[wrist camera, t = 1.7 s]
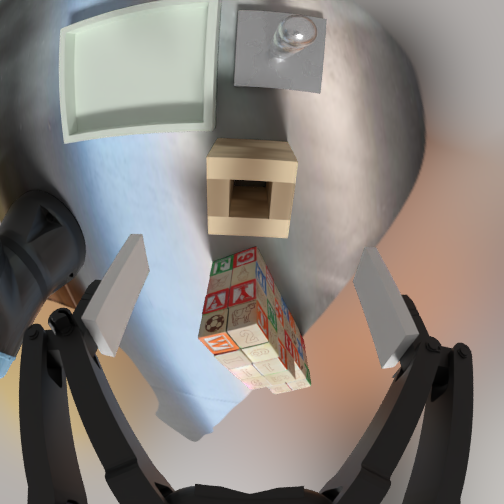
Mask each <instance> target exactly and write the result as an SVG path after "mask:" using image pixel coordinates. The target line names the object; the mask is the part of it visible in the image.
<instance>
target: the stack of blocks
mask: <svg viewBox="0 0 504 504" xmlns="http://www.w3.org/2000/svg"><path fill="white" fill-rule="evenodd" d="M198 339H199V340H200V341H201V342H202V343H203V344H204V345H205V346H206V347H207V348H208V349H209V350H210V351H211V352H212V353H213V354H214V357H215V358H216V359H217V360H218V361H219V362H220V363H221V364H222V365H223V366H225V367H226V368H227V369H228V370H229V371H230V372H231V373H232V374H233V375H234V376H236V377H237V378H238V379H239V380H241V382H243V383H244V384H245V385H246V386H247V387H248V388H249V389H251V390H252V389H257V388H262V387H268V388H269V390H271V392H272V393H273V394H278V393H283V392H288V391H292V390H296V389H300V388H305V387H309V386H311V380H310V372H309V369H308V364H307V356H306V351H305V345H304V340H303V338H302V336H301V334H300V332H299V329H298V327H297V325H296V323H295V321H294V319H293V317H292V315H291V313H290V311H289V309H287V306H286V304H285V302H284V300H283V298H282V296H281V295H280V293H279V291H278V289H277V287H276V285H275V283H274V280H273V278H272V276H271V274H270V272H269V270H268V268H267V266H266V264H265V262H264V260H263V258H262V256H261V254H260V252H259V250H258V248H257V247H253V248H250V249H247V250H244V251H242V252H239V253H236V254H234V255H231V256H229V257H226V258H223V259H220V260H217V261H214V262H213V263H212V268H211V272H210V280H209V284H208V289H207V295H206V297H205V301H204V306H203V312H202V320H201V324H200V329H199V334H198Z"/></svg>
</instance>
